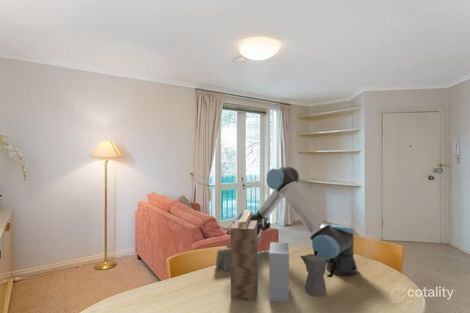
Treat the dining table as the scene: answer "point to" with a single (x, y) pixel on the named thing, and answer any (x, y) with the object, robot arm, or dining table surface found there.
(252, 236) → the walnut plinth
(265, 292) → the dining table surface
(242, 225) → the beech bar
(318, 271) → the coffeepot
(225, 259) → the digital clock
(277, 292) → the white rectangular block
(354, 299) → the dining table surface
